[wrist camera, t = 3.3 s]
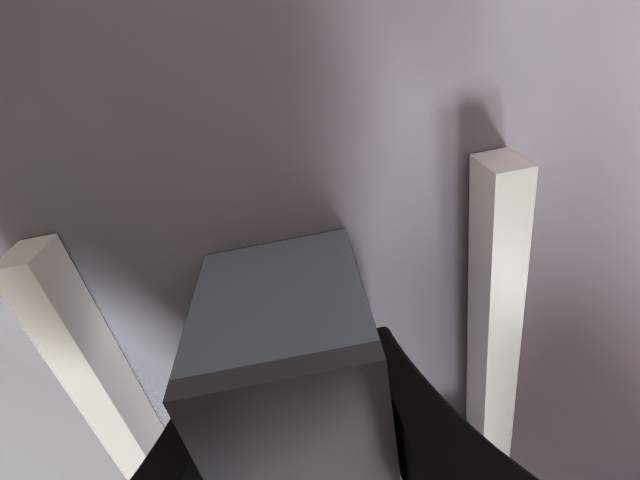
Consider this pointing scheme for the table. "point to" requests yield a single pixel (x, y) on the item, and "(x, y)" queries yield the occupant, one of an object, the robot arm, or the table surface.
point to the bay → (134, 407)
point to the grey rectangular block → (283, 367)
